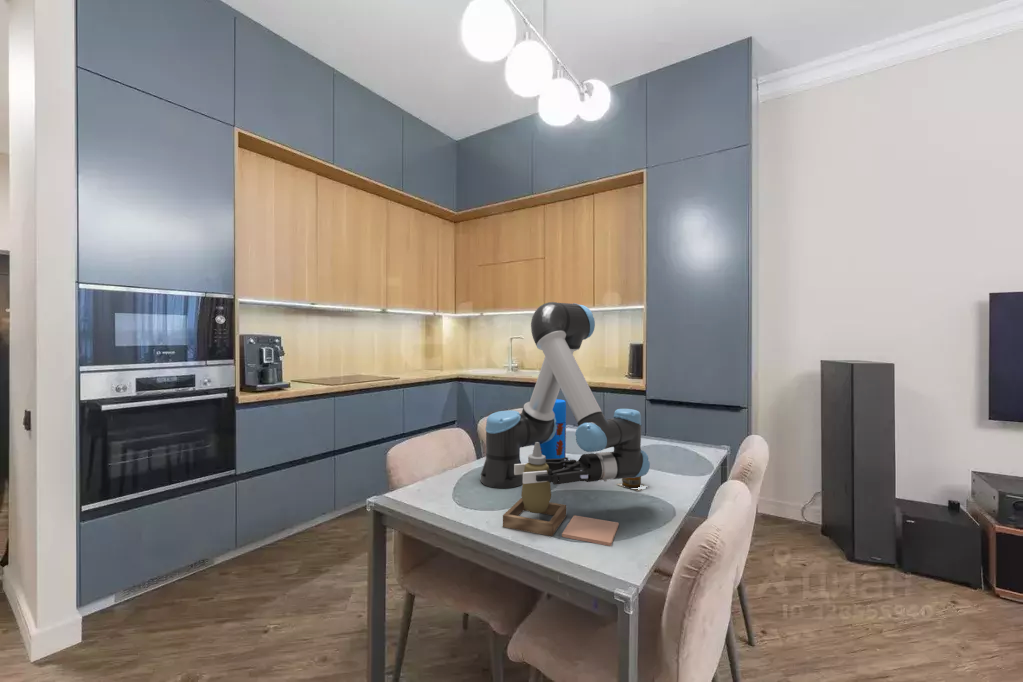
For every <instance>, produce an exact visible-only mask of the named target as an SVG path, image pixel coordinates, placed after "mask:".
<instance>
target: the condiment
mask: <svg viewBox="0 0 1023 682" xmlns="http://www.w3.org/2000/svg"><path fill="white" fill-rule="evenodd" d="M621 481H622V482H621V483H617V484H616V485H618V486H620V487H622V488H626V489H630V490H632V491H635V492H641V491H643V490H642V489H641V491H640V490H638V489H631V488H638V487H640V484H642V476H640V477H635V478H622V479H621ZM620 484H622V485H620ZM624 486H625V487H624Z"/></svg>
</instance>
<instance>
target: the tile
mask: <svg viewBox="0 0 1023 682" xmlns="http://www.w3.org/2000/svg"><path fill="white" fill-rule="evenodd" d="M619 523H620V522H617V521H609V520H604V519H599V518H594V517H586V516H581V515H574V514H573V516H572V518H571V519H570V520H569V522H568V523H567V525H566V527H565V528H564V530H563V531H562V533H561V537H562V538H565V539H572V540H575V541H576V540H577V541H582V542H585V543H586V542H588V543H593V544H598V545H604V546H609V547H612V544H613V541H614V539H615V537H616V535H617V534H616V533H617V531H618V529H619V525H620V524H619Z"/></svg>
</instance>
